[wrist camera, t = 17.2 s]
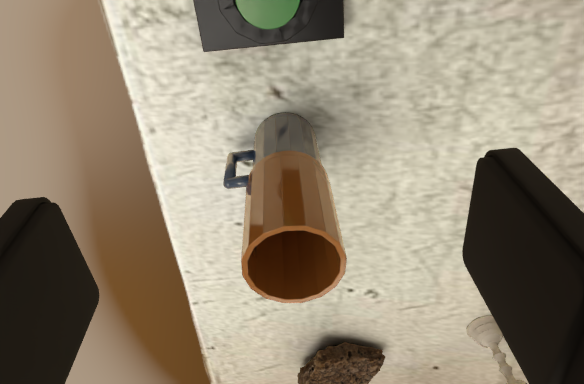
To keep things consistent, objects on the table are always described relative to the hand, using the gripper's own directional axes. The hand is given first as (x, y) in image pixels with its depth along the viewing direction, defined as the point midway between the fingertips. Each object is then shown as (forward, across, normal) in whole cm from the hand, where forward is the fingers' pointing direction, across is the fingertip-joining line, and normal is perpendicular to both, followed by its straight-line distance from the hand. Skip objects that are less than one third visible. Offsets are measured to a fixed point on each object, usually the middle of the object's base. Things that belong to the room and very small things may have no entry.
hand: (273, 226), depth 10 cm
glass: (+24, 0, +14) cm, 28 cm away
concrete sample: (+32, -4, +51) cm, 60 cm away
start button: (+29, 0, 0) cm, 29 cm away
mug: (+32, +1, +14) cm, 35 cm away
